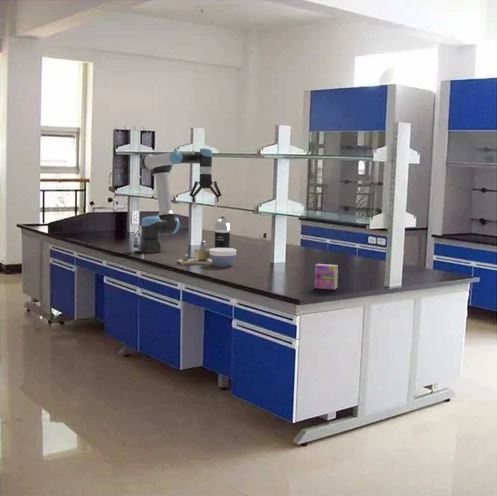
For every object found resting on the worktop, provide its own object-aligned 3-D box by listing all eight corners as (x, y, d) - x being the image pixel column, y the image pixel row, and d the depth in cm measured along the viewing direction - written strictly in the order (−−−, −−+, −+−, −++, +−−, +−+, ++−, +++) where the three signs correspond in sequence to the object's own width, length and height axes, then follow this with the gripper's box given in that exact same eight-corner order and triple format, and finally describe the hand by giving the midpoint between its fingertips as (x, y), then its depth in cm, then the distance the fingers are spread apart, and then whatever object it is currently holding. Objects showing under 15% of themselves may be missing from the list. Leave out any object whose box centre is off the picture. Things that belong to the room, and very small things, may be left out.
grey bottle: (227, 256, 456) (228, 217, 453) (212, 255, 458) (212, 216, 455) (231, 254, 466) (232, 216, 463) (216, 253, 468) (216, 215, 465)
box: (314, 288, 357) (314, 264, 355) (317, 286, 362) (318, 263, 360) (334, 290, 352) (334, 266, 351) (337, 288, 358) (338, 264, 356)
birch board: (177, 261, 431) (177, 259, 430) (209, 260, 437) (209, 258, 437) (183, 264, 419) (183, 262, 419) (215, 263, 426) (215, 261, 426)
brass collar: (194, 257, 432) (194, 249, 431) (207, 256, 435) (207, 248, 434) (198, 259, 424) (198, 251, 423) (211, 258, 427) (211, 250, 426)
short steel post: (182, 260, 427) (182, 254, 426) (187, 260, 428) (187, 254, 427) (183, 261, 424) (183, 254, 423) (188, 261, 425) (188, 254, 424)
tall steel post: (197, 259, 431) (197, 240, 430) (205, 259, 433) (206, 240, 431) (200, 261, 426) (200, 241, 425) (208, 260, 428) (208, 241, 426)
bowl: (231, 268, 410) (231, 252, 408) (205, 266, 414) (205, 250, 413) (239, 264, 425) (239, 248, 424) (214, 262, 429) (214, 247, 428)
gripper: (187, 173, 435) (187, 208, 438) (226, 173, 443) (226, 207, 446) (184, 173, 442) (184, 207, 444) (222, 173, 450) (222, 206, 453)
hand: (205, 207), depth 445 cm, fingers open, 13 cm apart
